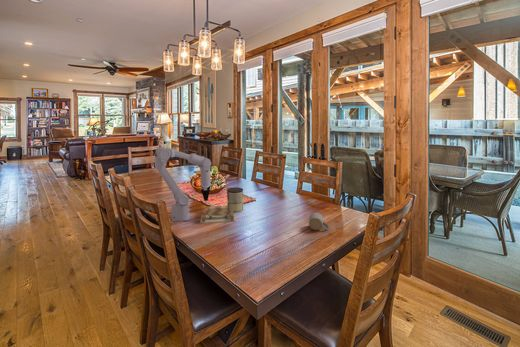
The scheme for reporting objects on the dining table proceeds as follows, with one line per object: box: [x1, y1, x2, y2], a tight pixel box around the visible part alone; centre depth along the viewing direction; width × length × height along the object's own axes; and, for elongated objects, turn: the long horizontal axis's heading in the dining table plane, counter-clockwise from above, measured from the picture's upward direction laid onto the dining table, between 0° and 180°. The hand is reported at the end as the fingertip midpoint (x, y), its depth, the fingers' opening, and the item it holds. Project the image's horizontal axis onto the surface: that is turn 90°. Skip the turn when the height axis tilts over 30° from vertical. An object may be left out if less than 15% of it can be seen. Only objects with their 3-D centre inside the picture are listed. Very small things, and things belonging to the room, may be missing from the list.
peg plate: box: [200, 210, 237, 224], centre depth 172 cm, size 20×12×3 cm, turn 98°
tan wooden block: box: [206, 205, 229, 216], centre depth 172 cm, size 12×4×5 cm, turn 97°
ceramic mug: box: [308, 212, 330, 231], centre depth 156 cm, size 11×8×8 cm
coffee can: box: [226, 186, 244, 214], centre depth 187 cm, size 10×10×14 cm
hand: (206, 199), depth 179 cm, fingers open, 7 cm apart
